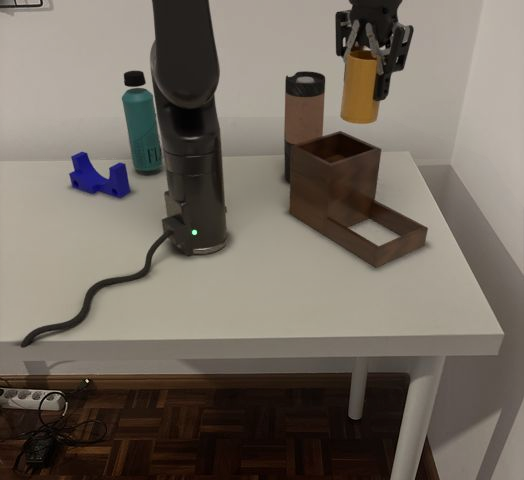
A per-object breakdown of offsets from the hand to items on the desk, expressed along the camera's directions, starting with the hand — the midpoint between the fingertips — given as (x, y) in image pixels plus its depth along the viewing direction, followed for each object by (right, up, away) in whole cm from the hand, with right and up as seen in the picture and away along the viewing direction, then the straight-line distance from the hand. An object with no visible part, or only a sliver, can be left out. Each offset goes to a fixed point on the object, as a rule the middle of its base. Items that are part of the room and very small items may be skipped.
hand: (364, 93), depth 87 cm
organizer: (+1, -18, +15) cm, 23 cm away
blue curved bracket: (-49, -7, +29) cm, 57 cm away
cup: (-1, -3, +2) cm, 4 cm away
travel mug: (-8, -4, +31) cm, 32 cm away
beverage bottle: (-41, -1, +35) cm, 54 cm away
